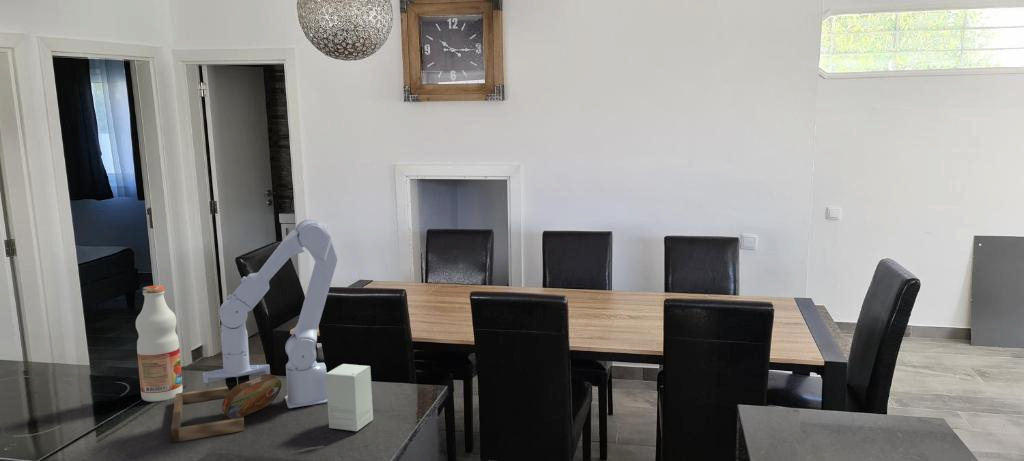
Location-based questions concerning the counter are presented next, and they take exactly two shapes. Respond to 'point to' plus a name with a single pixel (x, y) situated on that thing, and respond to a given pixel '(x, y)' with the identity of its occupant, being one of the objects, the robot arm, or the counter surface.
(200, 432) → the wooden u-shaped frame
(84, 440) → the counter surface
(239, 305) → the robot arm
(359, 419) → the supplement box
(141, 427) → the counter surface
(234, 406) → the tin
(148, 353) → the fruit juice
